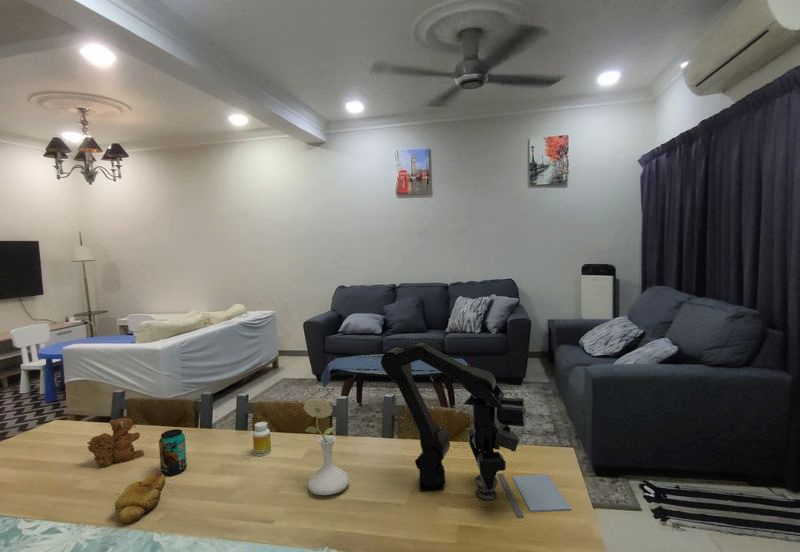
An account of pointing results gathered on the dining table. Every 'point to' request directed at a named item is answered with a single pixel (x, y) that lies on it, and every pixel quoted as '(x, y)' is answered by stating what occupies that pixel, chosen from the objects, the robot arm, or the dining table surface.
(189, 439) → the dining table surface
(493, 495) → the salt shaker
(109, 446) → the stuffed squirrel
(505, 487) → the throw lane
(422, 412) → the robot arm
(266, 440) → the supplement bottle
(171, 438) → the beverage can
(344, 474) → the flower in vase
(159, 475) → the bread roll
